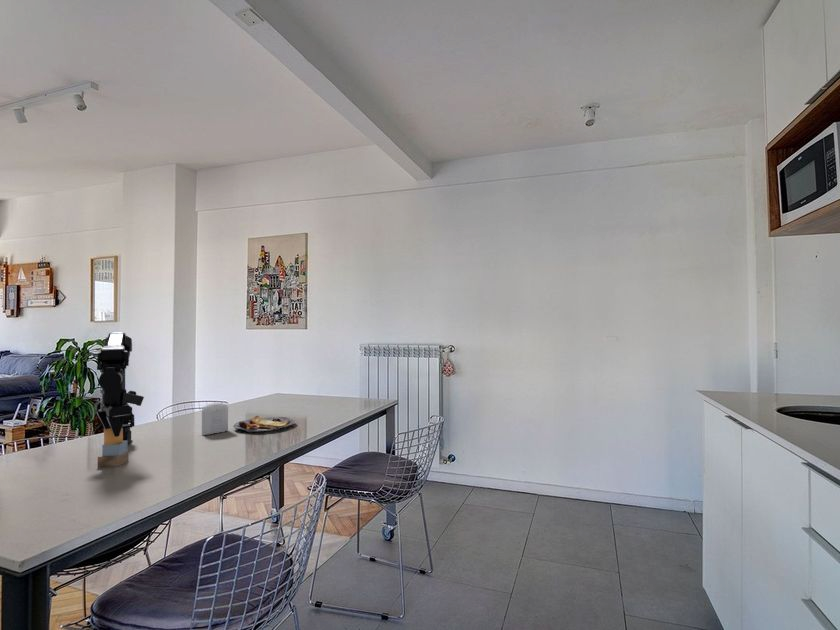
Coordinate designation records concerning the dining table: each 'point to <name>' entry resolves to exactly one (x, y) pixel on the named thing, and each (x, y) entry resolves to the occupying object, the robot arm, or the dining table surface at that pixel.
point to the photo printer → (214, 418)
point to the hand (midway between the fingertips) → (112, 434)
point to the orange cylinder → (112, 437)
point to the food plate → (264, 424)
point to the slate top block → (115, 449)
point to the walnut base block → (112, 460)
